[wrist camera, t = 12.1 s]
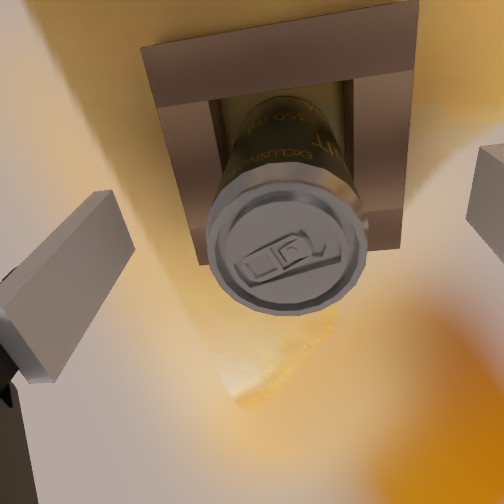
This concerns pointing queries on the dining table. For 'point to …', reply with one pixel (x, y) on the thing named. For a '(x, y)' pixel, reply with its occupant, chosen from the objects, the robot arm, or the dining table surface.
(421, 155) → the dining table surface
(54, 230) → the robot arm
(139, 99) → the dining table surface
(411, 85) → the holder
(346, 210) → the beer can
